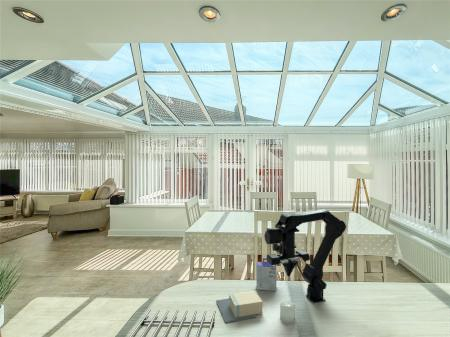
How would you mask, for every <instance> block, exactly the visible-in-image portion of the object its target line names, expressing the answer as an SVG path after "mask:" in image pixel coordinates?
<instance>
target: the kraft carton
mask: <svg viewBox="0 0 450 337" xmlns="http://www.w3.org/2000/svg"><path fill="white" fill-rule="evenodd" d="M228 295H229V297H228V298H229V306H230V308H231V310H232V312H233V314H234V316H235V318H236V317H242V316H248V315H254V314H255V315H258V314H259V315H260V314H263V308H264V307H263V305H264V304H263V303H264V302H263V300H262V299H261V297H260V296H259V295H258V293H257V291H256V290H250V291H244V292H243V291H242V292H236V293H229V294H228Z"/></svg>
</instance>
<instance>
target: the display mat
mask: <svg viewBox="0 0 450 337" xmlns="http://www.w3.org/2000/svg"><path fill="white" fill-rule="evenodd" d="M216 304H217V307H218V309H219V311H220V314H221V316H222V319H223V321H224V323H225V324H228V323H229V324H230V323H233V322H239V321H245V320H249V319H250V320H251V319H256V318H257V316H256V314H254V315H248V316H242V317H236V318H235V316H234V314H233V312H232V310H231V308H230V306H229V297H228V298H222V299H216Z"/></svg>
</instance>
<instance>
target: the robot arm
mask: <svg viewBox="0 0 450 337" xmlns="http://www.w3.org/2000/svg"><path fill="white" fill-rule="evenodd" d="M317 221H323V222H324V223H325V227H324V228H325V229H324V231H325V233H324V236H323V238H322V241H321V243H320V245H319V246H318V249H317V250H316V253H315V256H314V257H313V260H312V262H310V263H307V261H311V256H310V253H308V251H307V252H306V251H305V250H303V249H302V250H296V249H297V245H296V239H295V238H296V233H299V232H300V229H298V227H300V225H302V224H305V223H310V222H317ZM346 229H347V225H346V222H345V221H344V220H341V219H339V218H338V217H337V216H335V215H334V214H332V212H330V211H329V210H327V209H324V208H323V209H322V208H321V209H318V210H312V211H306V212H300V213H297V212H294V213H293V212H283V213H281V214H280V217H279V220H278V221H277V222H276V224H275V226H274V227H272V228H270V227H267V228H266V230H265V231H264V232H265V233H264V242H265V244H266V245H271V246H272V251H273V252H276V253H278V254H279V255H278V254H276V253H270V254H269V253H268V254H267V255H266V259H267V260H266V262H269V263H270V264H271V265H276V266H278V265H279V264H282V266H283V268H284V271H285V274H286V277H291V274H292V272H293V270H294V268H295V267H296V266H297V264H299V261H298V260H297V259H301V258H302V259H301V260H303V261H304V262H306V263H305V265H304V267H303V269H302V276H303V279H305V282H306V283H308V284H307V288H306V294H305V296H306V298H308V299H309V301H311V302H312V303H315V304H316V303H320V302H326V298H325V297H324V290H326V289H327V283H326V282H324V281H323V277H324V266H325V264H326V262H327V259H328V258H329V256H330V252H331V251H332V249H333V247H334V245H335V242H336V240H337V239H339V238H340V237H342V235H343V234H344V232H345V231H346Z"/></svg>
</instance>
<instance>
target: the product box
mask: <svg viewBox="0 0 450 337" xmlns="http://www.w3.org/2000/svg"><path fill="white" fill-rule="evenodd" d="M255 269H256V271H255V274H256V275H255V276H256V277H255V278H256V287H255V288H256V289H255V290H257V291H258V290H259V291H271V292H272V291H274V292H276V291H277V265H271V264H270V263H269V262H268V261H267V257H263V258H262V262H260V261H257V262H256V268H255Z"/></svg>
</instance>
